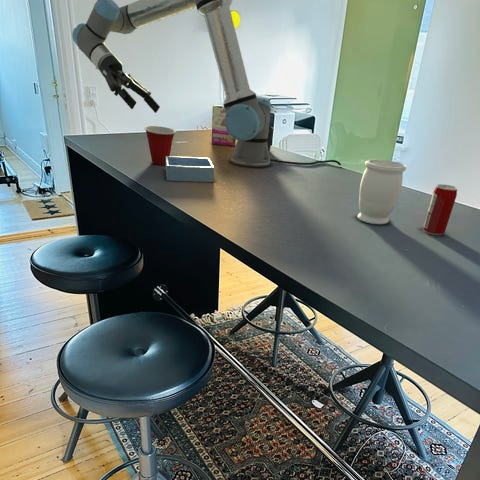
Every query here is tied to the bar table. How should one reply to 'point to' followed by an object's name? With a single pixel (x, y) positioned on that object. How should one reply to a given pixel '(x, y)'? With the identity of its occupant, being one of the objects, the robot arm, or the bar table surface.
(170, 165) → the tray
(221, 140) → the candy bar box
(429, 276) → the bar table surface
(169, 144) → the plastic cup
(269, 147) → the pen holder
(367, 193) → the jar
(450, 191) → the soda can
